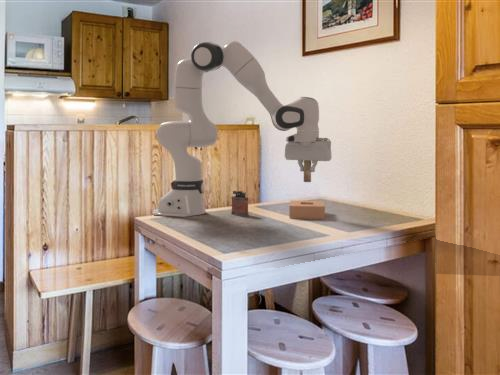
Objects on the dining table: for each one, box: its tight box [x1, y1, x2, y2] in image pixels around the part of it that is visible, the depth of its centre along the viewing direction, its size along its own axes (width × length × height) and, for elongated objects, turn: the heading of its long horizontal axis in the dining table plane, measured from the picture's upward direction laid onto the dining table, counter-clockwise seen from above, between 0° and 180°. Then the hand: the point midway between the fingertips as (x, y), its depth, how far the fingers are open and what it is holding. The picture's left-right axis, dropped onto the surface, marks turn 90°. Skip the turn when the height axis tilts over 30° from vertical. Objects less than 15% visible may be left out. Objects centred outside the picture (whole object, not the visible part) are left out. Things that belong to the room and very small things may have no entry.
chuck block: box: [288, 200, 326, 220], centre depth 185 cm, size 14×14×5 cm
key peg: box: [303, 160, 312, 183], centre depth 182 cm, size 3×3×9 cm
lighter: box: [230, 190, 249, 217], centre depth 187 cm, size 8×3×10 cm, turn 58°
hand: (307, 171), depth 182 cm, fingers closed on key peg, 3 cm apart
